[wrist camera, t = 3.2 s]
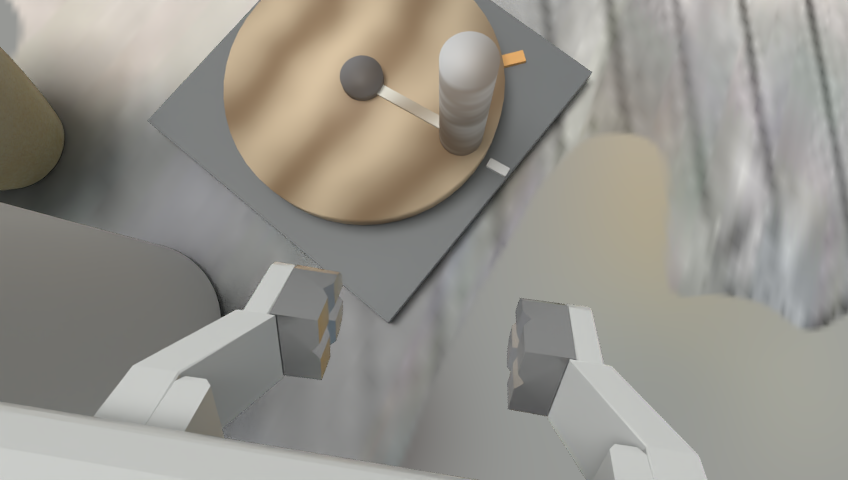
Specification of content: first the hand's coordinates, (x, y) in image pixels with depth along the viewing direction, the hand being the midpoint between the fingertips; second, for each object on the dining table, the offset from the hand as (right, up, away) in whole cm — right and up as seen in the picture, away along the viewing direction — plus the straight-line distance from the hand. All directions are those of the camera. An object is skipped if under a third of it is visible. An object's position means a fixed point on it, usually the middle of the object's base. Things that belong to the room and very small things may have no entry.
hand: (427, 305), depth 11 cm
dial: (-4, +12, +26) cm, 29 cm away
